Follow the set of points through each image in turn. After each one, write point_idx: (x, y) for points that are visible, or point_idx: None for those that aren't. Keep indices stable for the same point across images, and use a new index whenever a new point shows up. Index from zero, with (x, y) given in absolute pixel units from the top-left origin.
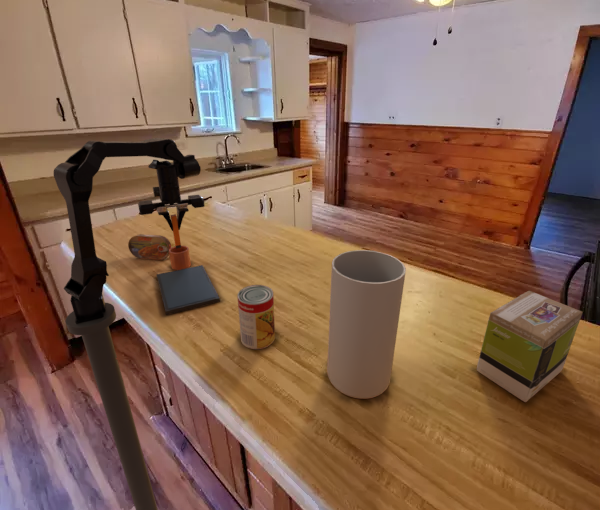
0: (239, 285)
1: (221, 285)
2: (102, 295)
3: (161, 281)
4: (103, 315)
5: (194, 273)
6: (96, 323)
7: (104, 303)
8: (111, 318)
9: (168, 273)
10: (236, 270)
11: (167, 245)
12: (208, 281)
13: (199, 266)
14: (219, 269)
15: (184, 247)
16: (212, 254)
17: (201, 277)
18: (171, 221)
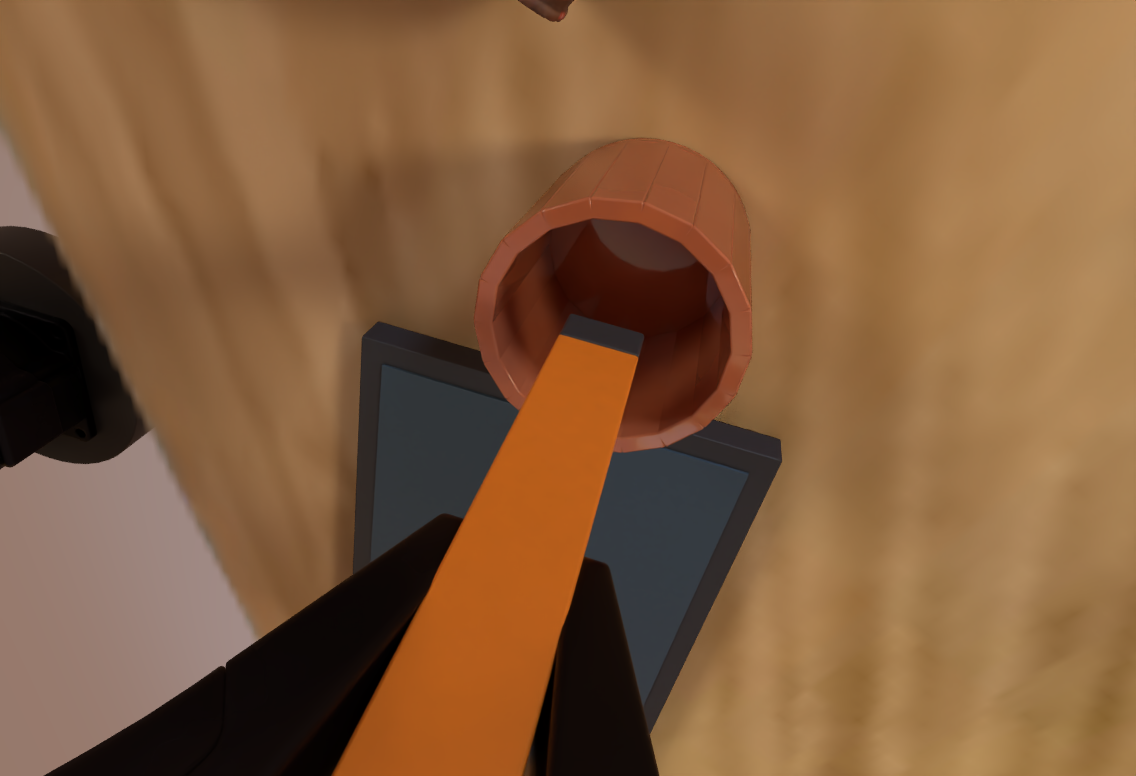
0: (813, 766)
1: (725, 700)
2: (2, 430)
3: (376, 472)
4: (90, 437)
5: (634, 541)
6: (76, 463)
7: (55, 404)
8: (143, 433)
9: (453, 399)
10: (970, 649)
11: (533, 10)
12: (659, 676)
13: (739, 473)
14: (880, 550)
15: (721, 291)
16: (1132, 212)
17: (647, 617)
18: (375, 690)
